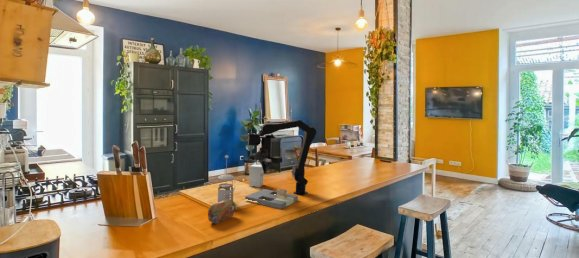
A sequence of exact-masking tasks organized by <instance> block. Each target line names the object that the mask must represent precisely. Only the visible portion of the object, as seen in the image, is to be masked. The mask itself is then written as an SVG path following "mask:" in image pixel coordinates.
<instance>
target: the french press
mask: <svg viewBox="0 0 579 258" xmlns="http://www.w3.org/2000/svg"><path fill="white" fill-rule="evenodd" d="M224 158H225V159H226V162H225V165H226V168H225V174H221V175H219V176H218V177H217V178H218V180H220V181H229V182H231V183H227V182H225V183H220V184H219V185H218V188H217V202H221V201H224V200H232V201H233V202H234V191H235V189H236V187H234V182H236V180H235V177H234V176H233V175H232V174H228V173H227V172H228V171H227V170H228V166H227V165H228V158H230V157H229V155H227V154H226V155H224ZM233 181H234V182H233Z"/></svg>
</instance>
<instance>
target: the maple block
mask: <svg viewBox="0 0 579 258" xmlns="http://www.w3.org/2000/svg"><path fill="white" fill-rule="evenodd" d="M276 191H277V198H279V199H285V198H287V194H288V190H287V189H284V188H278V189H277V190H276Z"/></svg>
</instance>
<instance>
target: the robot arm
mask: <svg viewBox="0 0 579 258" xmlns="http://www.w3.org/2000/svg"><path fill="white" fill-rule="evenodd" d="M260 128H261V129H260V130H259V131H258V132H257V133H248V138H247V146H250V147H251V146H252V147H253V146H254V147H255V146H257V147H259V145H260V147H259V150H258V151H257V152H256V153H255V152H254V153H251V154H249V160H253V161H254V160H255V161H257V162H258V163H260V165H262V168H263V171H264V174H266V173H267V172H268V170H269V168H270V167H271V165H272V163H273V164H280V163H282V162H283V158H282V156H277V155H276V156H273V154H272V150H273V147H272V142H273V141H272V140H273V139H276V137H275V135H274V133H276V132H279V131H282V130H288V129H294V128H299V129H300V130H301V131H303V142H302V145H301V148H300V153H299V157H298V160H297V163H296V166H294V165H293V166H292V171H291V172H290V173H291V176H292V178H293V179H294V180H295V191H293V194H294V195H300V196H304V195H306V194H308V193H309V192H308V191H306V187H307V184H308V182H309V181H308V179H307V178H305V174H306V173H305V172H306V171H305V170H306V169H305V167H306V162H307V159H308V155H309V152H310V148H311V145H312V142H313V141H314V140H315V137H316V135H317V129H316V128H315V127H313V126H310V125H308V124H306V123H305V122H303V120H301V119H295V120H290V121H284V122H278V123H267V122H266V123H263V124H262V125H261V127H260Z"/></svg>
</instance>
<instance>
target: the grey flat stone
mask: <svg viewBox="0 0 579 258" xmlns="http://www.w3.org/2000/svg"><path fill="white" fill-rule="evenodd" d="M217 202H218V201H217ZM217 202H215V203H213V204H212V205H210V206H209V208H208V211H207V219H208V221H209V222H210V223H212V224H216V225H218V224H220V223H223V222H225V221H228V220H230V219H232V218H233V216H234V215H235V212H236V203H235V202H234V200H233V201H232V200H224V201H221V202H218V203H217Z"/></svg>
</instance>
